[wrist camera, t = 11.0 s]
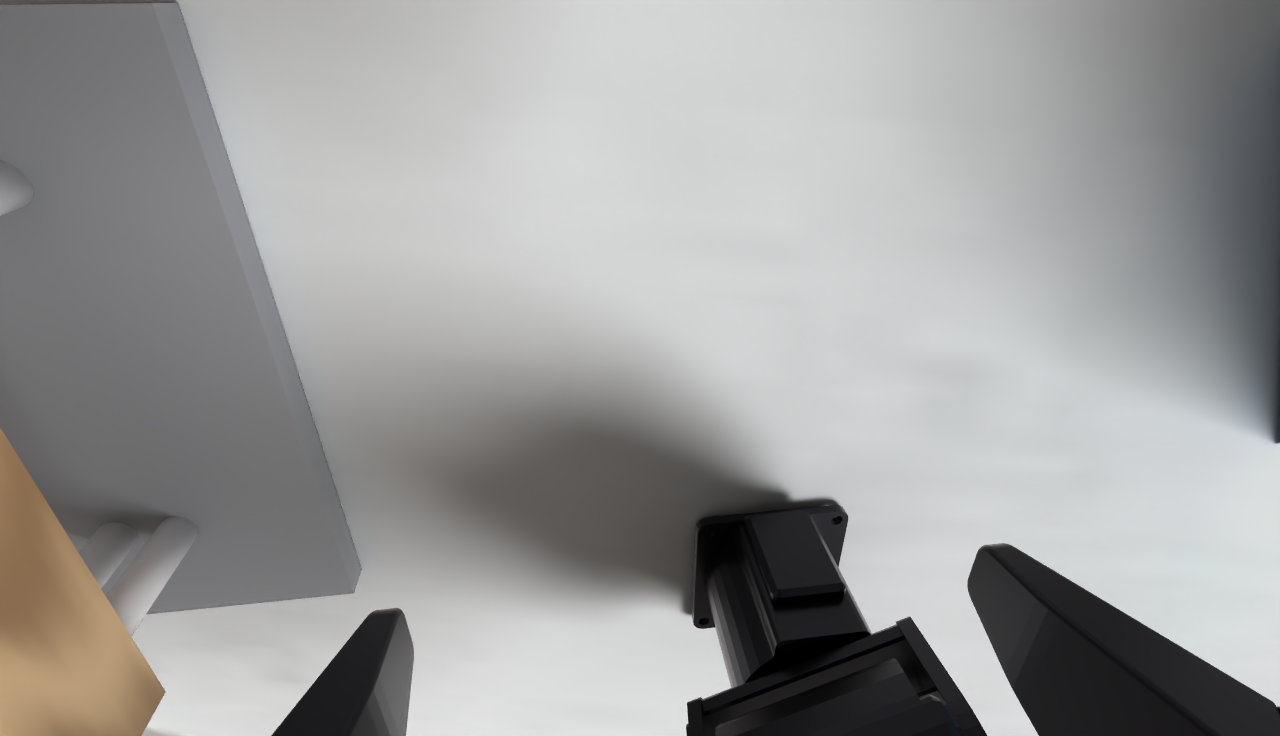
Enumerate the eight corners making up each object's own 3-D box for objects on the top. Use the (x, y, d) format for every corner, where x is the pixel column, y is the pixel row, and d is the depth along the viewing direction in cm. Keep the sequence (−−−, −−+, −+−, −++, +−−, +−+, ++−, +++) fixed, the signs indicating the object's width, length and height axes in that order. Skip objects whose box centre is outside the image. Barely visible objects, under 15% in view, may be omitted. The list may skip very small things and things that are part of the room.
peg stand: (361, 569, 26) (312, 716, 21) (41, 601, 25) (-100, 766, 19) (178, 2, 16) (-10, 3, 11) (-376, 9, 15) (-902, 14, 9)
